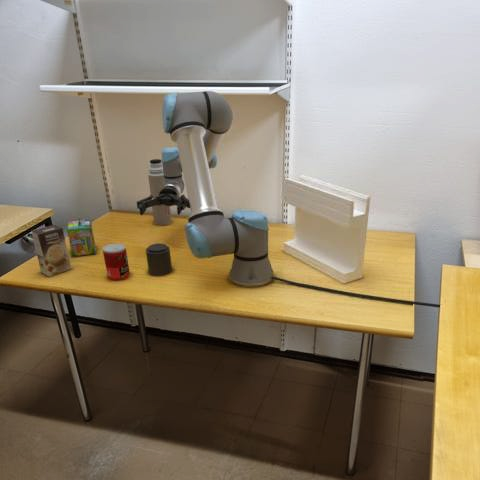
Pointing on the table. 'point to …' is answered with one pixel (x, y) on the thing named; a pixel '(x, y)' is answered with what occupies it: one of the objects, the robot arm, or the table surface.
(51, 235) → the coffee box
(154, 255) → the cap
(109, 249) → the canned food
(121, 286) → the table surface
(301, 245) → the block
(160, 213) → the thermos bottle
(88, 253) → the chalk box
